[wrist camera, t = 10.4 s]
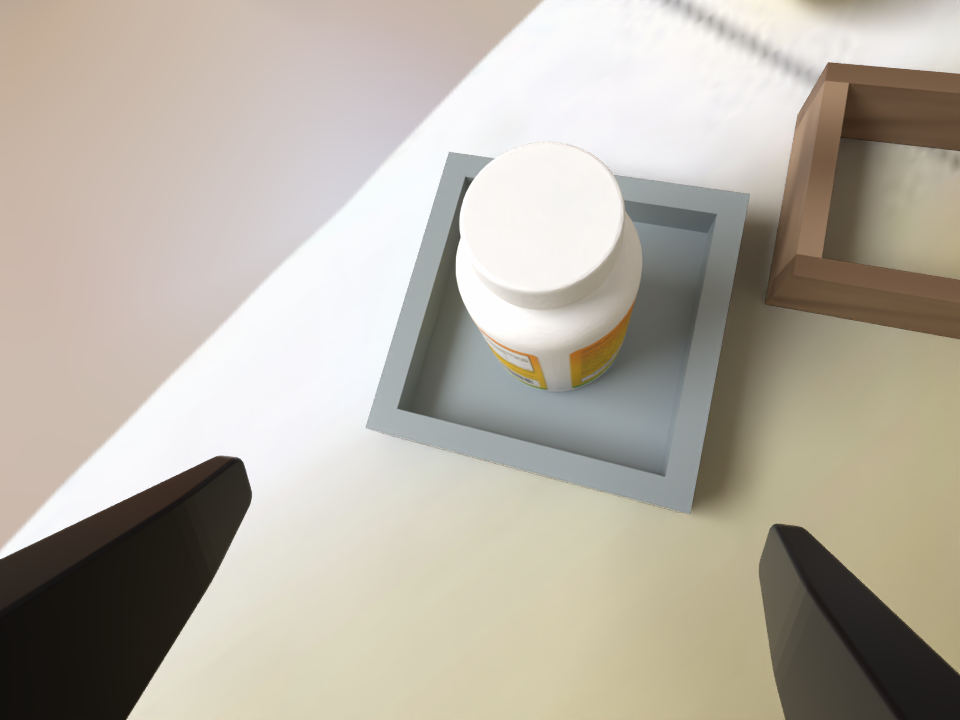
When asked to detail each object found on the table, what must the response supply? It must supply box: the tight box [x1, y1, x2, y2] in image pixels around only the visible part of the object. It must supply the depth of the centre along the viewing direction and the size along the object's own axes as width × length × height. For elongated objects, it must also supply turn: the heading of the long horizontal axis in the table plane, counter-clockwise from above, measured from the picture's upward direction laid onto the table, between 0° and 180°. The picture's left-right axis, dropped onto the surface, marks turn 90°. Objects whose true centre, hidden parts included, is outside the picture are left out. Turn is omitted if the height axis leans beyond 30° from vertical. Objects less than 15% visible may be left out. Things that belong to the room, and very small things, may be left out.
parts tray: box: [366, 152, 750, 514], centre depth 22 cm, size 12×12×2 cm
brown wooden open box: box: [765, 62, 960, 339], centre depth 20 cm, size 9×9×3 cm
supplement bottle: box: [456, 142, 642, 392], centre depth 18 cm, size 5×5×10 cm
